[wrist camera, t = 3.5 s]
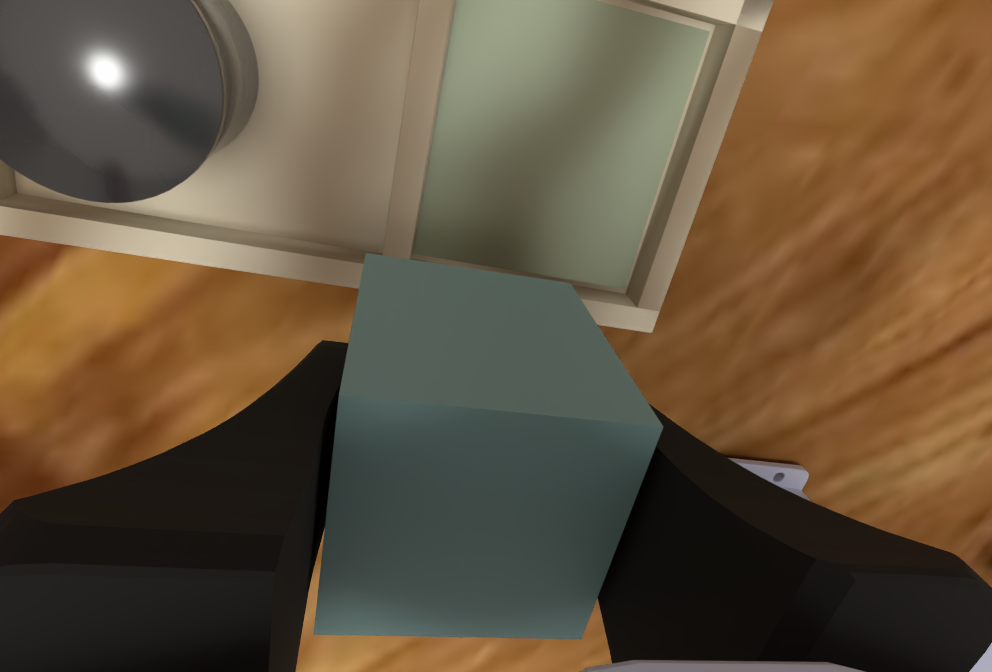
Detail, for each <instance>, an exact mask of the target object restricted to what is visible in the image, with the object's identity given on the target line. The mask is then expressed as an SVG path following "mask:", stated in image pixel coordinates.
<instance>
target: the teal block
mask: <svg viewBox="0 0 992 672" xmlns="http://www.w3.org/2000/svg"><path fill="white" fill-rule="evenodd" d="M662 429H663V425H662V424H661V422H660V421H659V419H658V418H657V416H656V415H655V413H654V411H653V410H652V408H651V407H650V405H649V404H648V402H647V401H646V399H645V398H644V396H643V394H642V393H641V391H640V390H639V388H638V387H637V385H636V384H635V382H634V381H633V379H632V377H631V376H630V374H629V373H628V371H627V370H626V368H625V367H624V365H623V364H622V362H621V361H620V359H619V357H618V356H617V354H616V353H615V351H614V350H613V348H612V347H611V345H610V344H609V342H608V340H607V339H606V337H605V336H604V334H603V333H602V331H601V330H600V328H599V327H598V325H597V323H596V322H595V320H594V319H593V317H592V316H591V314H590V313H589V311H588V310H587V308H586V306H585V305H584V303H583V302H582V300H581V299H580V297H579V296H578V294H577V293H576V291H575V289H574V288H573V286H572V285H571V283H566V282H560V281H553V280H546V279H539V278H532V277H526V276H519V275H512V274H505V273H499V272H492V271H485V270H478V269H471V268H465V267H458V266H451V265H444V264H438V263H431V262H424V261H417V260H411V259H404V258H397V257H390V256H383V255H377V254H370V253H366V255H365V260H364V265H363V271H362V276H361V281H360V286H359V292H358V297H357V302H356V307H355V313H354V318H353V323H352V329H351V334H350V339H349V344H348V350H347V355H346V360H345V365H344V371H343V376H342V381H341V386H340V392H339V399H338V408H337V418H336V427H335V437H334V446H333V456H332V465H331V475H330V484H329V494H328V503H327V513H326V522H325V532H324V541H323V551H322V560H321V570H320V579H319V589H318V598H317V607H316V617H315V626H314V634H320V635H374V636H429V637H484V638H539V639H582V636H583V633H584V631H585V628H586V626H587V623H588V621H589V618H590V615H591V613H592V610H593V608H594V605H595V602H596V600H597V597H598V595H599V592H600V589H601V587H602V584H603V582H604V579H605V577H606V574H607V571H608V569H609V566H610V564H611V561H612V558H613V556H614V553H615V551H616V548H617V546H618V543H619V540H620V538H621V535H622V533H623V530H624V527H625V525H626V522H627V520H628V517H629V515H630V512H631V509H632V507H633V504H634V502H635V499H636V496H637V494H638V491H639V489H640V486H641V484H642V481H643V478H644V476H645V473H646V471H647V468H648V465H649V463H650V460H651V458H652V455H653V453H654V450H655V447H656V445H657V442H658V440H659V437H660V434H661V432H662Z"/></svg>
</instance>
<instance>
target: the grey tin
mask: <svg viewBox="0 0 992 672" xmlns="http://www.w3.org/2000/svg"><path fill="white" fill-rule="evenodd" d="M258 86H259V74H258V65H257V58H256V54H255V50H254V46H253V43H252V41H251V38H250V36H249V33H248V31H247V29H246V27H245V25H244V23H243V21H242V19H241V17H240V16H239V14H238V13H237V11H236V10H235V8H234V7H233V5H232V4H231V3H230V2H229V1H228V0H0V160H2V161H3V162H4V163H6V164H7V165H8V166H10V167H11V168H13V169H14V170H15V171H17V172H18V173H20V174H22V175H23V176H25V177H27V178H28V179H30V180H32V181H34V182H35V183H37V184H40V185H42V186H44V187H46V188H48V189H51V190H53V191H55V192H58V193H61V194H64V195H67V196H70V197H74V198H78V199H83V200H87V201H93V202H102V203H127V202H134V201H141V200H145V199H148V198H152V197H156V196H158V195H160V194H162V193H165V192H167V191H169V190H171V189H173V188H174V187H176V186H177V185H179V184H180V183H182V182H184V181H185V180H187V179H188V178H189V177H190V176H192V175H193V174H194V173H195V172H196V171H197V170H198V169H199V168H200V167H201V166H202V165H203V164H204V162H205V161H206V160H207V159H208V158H209V157H210V156H211V155H213V154H215V153H216V152H218V151H219V150H221V149H223V148H224V147H226V146H227V145H229V144H230V143H231V142H232V141H233V140H234V139H236V138H237V137H238V135H239V134H240V133H241V132H242V131H243V129H244V128H245V126H246V125H247V123H248V121H249V120H250V117H251V115H252V113H253V110H254V108H255V104H256V100H257V95H258Z"/></svg>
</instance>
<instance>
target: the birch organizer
mask: <svg viewBox="0 0 992 672" xmlns="http://www.w3.org/2000/svg"><path fill="white" fill-rule="evenodd" d="M228 1H229V2H230V3H231V4H232V5H233V7H234V8H235V10H236V11H237V13H238V14H239V16H240V17H241V19H242V21H243V23H244V25H245V27H246V29H247V31H248V33H249V36H250V38H251V41H252V43H253V46H254V50H255V54H256V58H257V65H258V74H259V86H258V95H257V100H256V104H255V108H254V110H253V113H252V115H251V117H250V120H249V121H248V123H247V125H246V126H245V128H244V129H243V131H242V132H241V133H240V134H239V135H238V137H237V138H236V139H234V140H233V141H232V142H231V143H230V144H229V145H227V146H226V147H224V148H223V149H221V150H219V151H218V152H216V153H215V154H213V155H211V156H210V157H209V158H208V159H207V160H206V161H205V162H204V164H203V165H202V166H201V167H200V168H199V169H198V170H197V171H196V172H195V173H194V174H193V175H192V176H190V177H189V178H188V179H187V180H185V181H184V182H182V183H180V184H179V185H177V186H176V187H174V188H173V189H171V190H169V191H167V192H165V193H162V194H160V195H158V196H156V197H152V198H148V199H145V200H141V201H134V202H127V203H102V202H93V201H87V200H83V199H78V198H74V197H70V196H67V195H64V194H61V193H58V192H55V191H53V190H51V189H48V188H46V187H44V186H42V185H40V184H37V183H35V182H34V181H32V180H30V179H28V178H27V177H25V176H23V175H22V174H20V173H18V172H17V171H15V170H14V169H13V168H11V167H10V166H8V165H7V164H6V163H4V162H3V161H2V160H0V235H6V236H13V237H20V238H26V239H33V240H39V241H46V242H53V243H59V244H66V245H73V246H79V247H86V248H92V249H99V250H106V251H112V252H119V253H126V254H132V255H139V256H145V257H152V258H159V259H165V260H172V261H178V262H185V263H192V264H198V265H205V266H212V267H218V268H225V269H231V270H238V271H245V272H251V273H258V274H265V275H271V276H278V277H284V278H291V279H298V280H304V281H311V282H317V283H324V284H331V285H337V286H344V287H351V288H357V289H359V286H360V281H361V276H362V271H363V265H364V260H365V255H366V253H370V254H377V255H383V256H390V257H397V258H404V259H411V260H417V261H424V262H431V263H438V264H444V265H451V266H458V267H465V268H471V269H478V270H485V271H492V272H499V273H505V274H512V275H519V276H526V277H532V278H539V279H546V280H553V281H560V282H566V283H571V285H572V286H573V288H574V289H575V291H576V293H577V294H578V296H579V297H580V299H581V300H582V302H583V303H584V305H585V306H586V308H587V310H588V311H589V313H590V314H591V316H592V317H593V319H594V320H595V322H596V323H597V325H602V326H609V327H615V328H622V329H629V330H635V331H642V332H648V333H652V331H653V329H654V326H655V323H656V320H657V318H658V315H659V312H660V309H661V307H662V304H663V301H664V298H665V296H666V293H667V290H668V288H669V285H670V282H671V279H672V277H673V274H674V271H675V268H676V266H677V263H678V260H679V258H680V255H681V252H682V249H683V247H684V244H685V241H686V238H687V236H688V233H689V230H690V227H691V225H692V222H693V219H694V217H695V214H696V211H697V208H698V206H699V203H700V200H701V197H702V195H703V192H704V189H705V187H706V184H707V181H708V178H709V176H710V173H711V170H712V167H713V165H714V162H715V159H716V156H717V154H718V151H719V148H720V146H721V143H722V140H723V137H724V135H725V132H726V129H727V126H728V124H729V121H730V118H731V116H732V113H733V110H734V107H735V105H736V102H737V99H738V96H739V94H740V91H741V88H742V85H743V83H744V80H745V77H746V75H747V72H748V69H749V66H750V64H751V61H752V58H753V55H754V53H755V50H756V47H757V45H758V42H759V39H760V36H761V34H762V31H763V28H764V25H765V23H766V20H767V17H768V14H769V12H770V9H771V6H772V4H773V1H774V0H228Z"/></svg>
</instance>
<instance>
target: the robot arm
mask: <svg viewBox="0 0 992 672" xmlns="http://www.w3.org/2000/svg"><path fill="white" fill-rule="evenodd" d="M348 344H349V343H342V342H334V341H325V340H323V341H322V342H320V343H319V344H317V345H316V346H315V347H314V349H313V350H312V351H311V352H310V353H309V354H308V355H307V356H306V357H305V358H304V359H303V360H302V361H301V362H300V363H299V364H298V365H297V366H296V367H295V368H294V369H293V370H292V371H291V372H289V373H288V374H287V375H286V376H285V377H284V378H283V379H282V380H280V381H279V382H278V383H277V384H276V385H275V386H274V387H272V388H271V389H270V390H269V391H267V392H266V393H265V394H263V395H262V396H261V397H259V398H258V399H257V400H256V401H254V402H253V403H252V404H250V405H249V406H248V407H246V408H245V409H243V410H242V411H240V412H239V413H238V414H236V415H235V416H233V417H232V418H230V419H228V420H227V421H225V422H223V423H221V424H220V425H218V426H216V427H215V428H213V429H211V430H209V431H207V432H206V433H203V434H201V435H199V436H197V437H195V438H193V439H191V440H189V441H187V442H185V443H183V444H180V445H178V446H176V447H174V448H172V449H170V450H168V451H166V452H164V453H161V454H159V455H157V456H154V457H152V458H149V459H147V460H144V461H141V462H139V463H136V464H134V465H131V466H128V467H125V468H123V469H120V470H117V471H114V472H111V473H109V474H106V475H103V476H100V477H96V478H93V479H90V480H87V481H83V482H80V483H76V484H73V485H69V486H66V487H62V488H59V489H55V490H51V491H48V492H44V493H41V494H37V495H34V496H30V497H26V498H22V499H18V500H14V501H13V502H12V503H11V504H10V505H9V506H8V507H7V508H6V509H5V510H4V511H3V512H2V513H1V514H0V672H295V670H296V664H297V658H298V652H299V645H300V639H301V633H302V627H303V621H304V615H305V609H306V603H307V597H308V591H309V587H310V582H311V578H312V573H313V569H314V565H315V561H316V557H317V554H318V550H319V546H320V543H321V539H322V535H323V532H324V528H325V522H326V513H327V503H328V494H329V484H330V475H331V465H332V456H333V446H334V437H335V427H336V418H337V408H338V399H339V392H340V386H341V381H342V376H343V371H344V365H345V360H346V355H347V350H348ZM648 404H649V403H648ZM649 405H650V404H649ZM650 407H651V408H652V410H653V411H654V413H655V415H656V416H657V418H658V419H659V421H660V422H661V424H662V425H663V429H662V432H661V434H660V437H659V440H658V442H657V445H656V447H655V450H654V453H653V455H652V458H651V460H650V463H649V465H648V468H647V471H646V473H645V476H644V478H643V481H642V484H641V486H640V489H639V491H638V494H637V496H636V499H635V502H634V504H633V507H632V509H631V512H630V515H629V517H628V520H627V522H626V525H625V527H624V530H623V533H622V535H621V538H620V540H619V543H618V546H617V548H616V551H615V553H614V556H613V558H612V561H611V564H610V566H609V569H608V571H607V574H606V577H605V579H604V582H603V584H602V587H601V589H600V592H599V595H598V597H597V598H598V601H599V605H600V610H601V614H602V618H603V623H604V627H605V632H606V636H607V640H608V645H609V650H610V655H611V660H612V664H607V665H601V666H595V667H589V668H586V669H584V670H582V671H580V672H969V671H970V670H971V669H972V668H973V666H974V665H975V664H976V663H977V661H978V660H979V659H980V658H981V657H982V655H983V654H984V653H985V652H986V650H987V648H988V647H989V645H990V644H991V643H992V588H991V587H990V586H989V585H988V584H987V583H986V582H985V581H984V580H983V579H982V578H981V577H980V576H979V575H978V574H977V573H976V572H975V571H974V570H972V569H971V568H970V567H969V566H968V565H967V564H966V563H965V562H964V561H963V560H962V559H960V558H959V557H957V556H956V555H954V554H953V553H950V552H947V551H944V550H941V549H938V548H935V547H931V546H928V545H925V544H922V543H919V542H916V541H913V540H910V539H907V538H904V537H901V536H898V535H895V534H892V533H889V532H886V531H883V530H880V529H877V528H875V527H872V526H869V525H867V524H864V523H862V522H859V521H857V520H854V519H851V518H849V517H846V516H844V515H841V514H839V513H836V512H834V511H832V510H829V509H827V508H825V507H822V506H820V505H818V504H815V503H813V502H811V501H810V499H809V498H808V497H807V496H806V495H805V494H804V492H803V491H802V489H803V487H804V485H805V484H806V482H807V480H808V477H809V474H808V472H807V471H806V470H805V469H804V468H803V467H802V466H800V465H792V464H782V463H773V462H764V461H754V460H745V459H735V458H727V457H725V456H723V455H722V454H720V453H718V452H717V451H715V450H714V449H712V448H711V447H709V446H708V445H706V444H705V443H703V442H702V441H700V440H699V439H697V438H696V437H694V436H693V435H691V434H690V433H688V432H687V431H685V430H684V429H683V428H681V427H680V426H678V425H677V424H676V423H674V422H673V421H672V420H670V419H669V418H667V417H666V416H665V415H663V414H662V413H661V412H659V411H658V410H657V409H655V408H654V407H653V406H651V405H650ZM777 473H778V474H777ZM775 474H777V475H775Z"/></svg>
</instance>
